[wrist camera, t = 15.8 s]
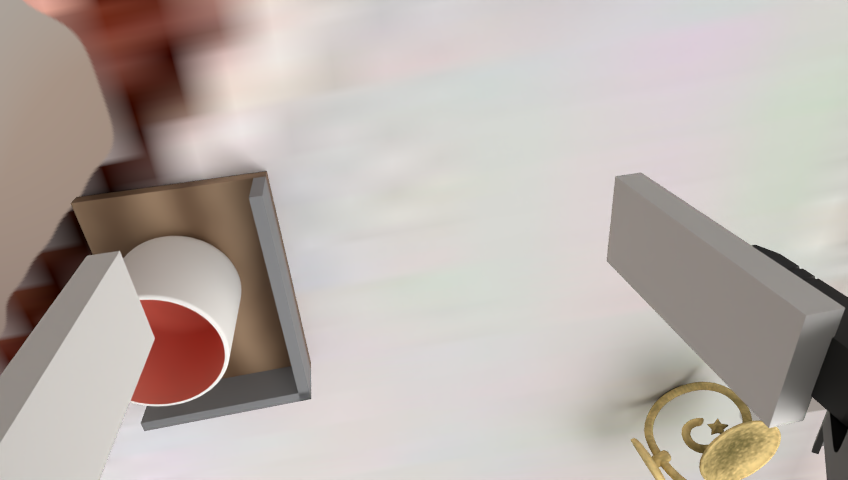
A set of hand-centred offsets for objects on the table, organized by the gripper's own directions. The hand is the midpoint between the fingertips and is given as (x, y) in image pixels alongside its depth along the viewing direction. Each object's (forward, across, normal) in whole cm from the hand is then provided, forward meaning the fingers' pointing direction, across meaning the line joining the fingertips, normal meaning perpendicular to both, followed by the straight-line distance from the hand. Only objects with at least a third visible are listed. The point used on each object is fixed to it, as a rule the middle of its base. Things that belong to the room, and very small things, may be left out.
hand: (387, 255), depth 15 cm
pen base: (+32, -14, -19) cm, 40 cm away
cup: (+31, -16, -17) cm, 38 cm away
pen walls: (+30, -15, -19) cm, 39 cm away
